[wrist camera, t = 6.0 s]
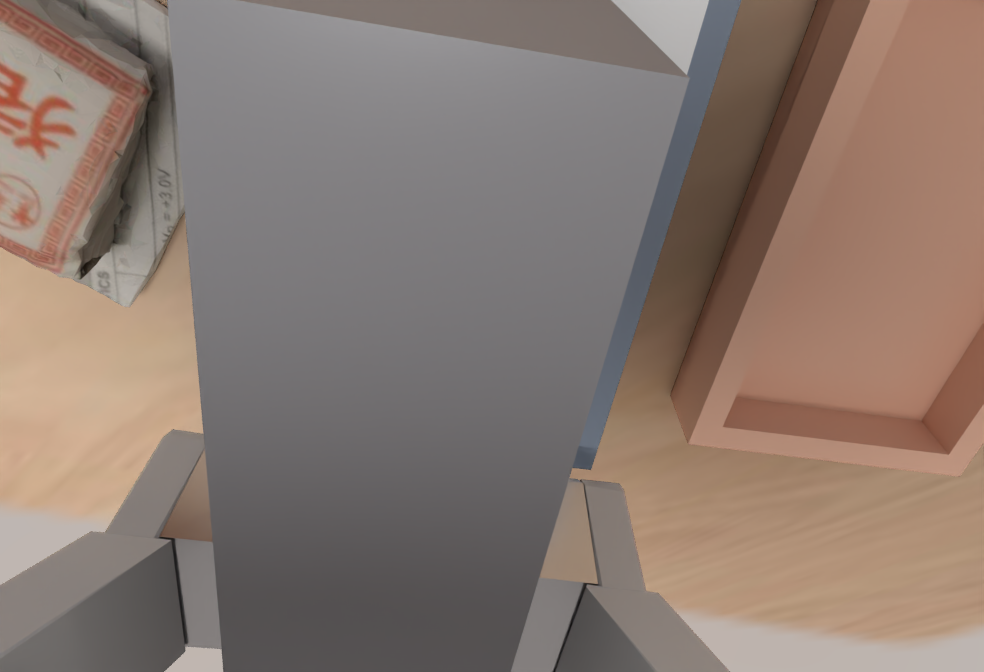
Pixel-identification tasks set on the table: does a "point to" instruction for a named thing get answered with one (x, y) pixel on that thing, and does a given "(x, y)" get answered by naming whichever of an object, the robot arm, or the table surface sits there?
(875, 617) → the table surface
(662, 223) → the slate bay
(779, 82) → the table surface
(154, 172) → the packaged product
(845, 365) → the terracotta tray
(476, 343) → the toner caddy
